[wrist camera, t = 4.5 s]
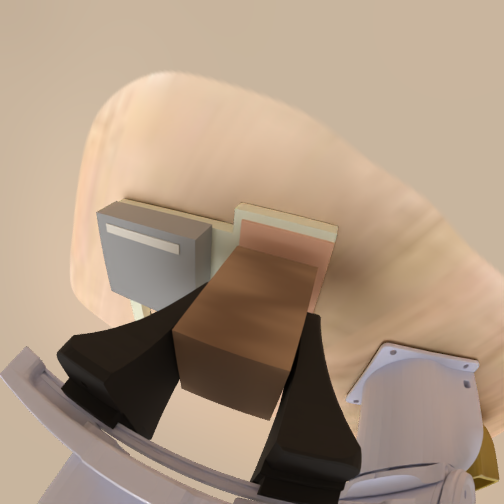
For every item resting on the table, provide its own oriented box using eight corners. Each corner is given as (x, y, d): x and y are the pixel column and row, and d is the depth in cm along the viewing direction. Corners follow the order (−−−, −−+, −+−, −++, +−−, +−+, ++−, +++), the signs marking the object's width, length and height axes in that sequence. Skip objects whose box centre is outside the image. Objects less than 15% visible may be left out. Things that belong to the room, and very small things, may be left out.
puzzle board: (338, 226, 14) (337, 235, 13) (287, 378, 22) (283, 389, 21) (122, 179, 18) (111, 184, 17) (143, 324, 25) (136, 332, 24)
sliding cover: (212, 224, 16) (194, 240, 14) (209, 308, 19) (196, 328, 17) (116, 201, 17) (95, 212, 16) (127, 276, 21) (110, 291, 19)
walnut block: (318, 267, 13) (290, 371, 8) (299, 326, 15) (269, 420, 10) (237, 245, 14) (172, 329, 9) (232, 305, 16) (181, 388, 11)
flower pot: (433, 443, 22) (429, 505, 14) (399, 425, 21) (391, 501, 14) (494, 413, 17) (500, 481, 9) (472, 389, 16) (480, 475, 9)
